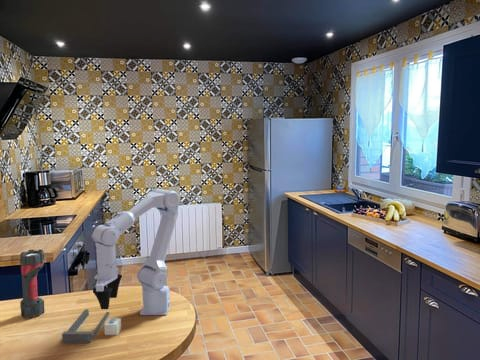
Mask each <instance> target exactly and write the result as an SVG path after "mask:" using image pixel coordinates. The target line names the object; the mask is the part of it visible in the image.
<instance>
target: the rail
mask: <svg viewBox="0 0 480 360" xmlns="http://www.w3.org/2000/svg"><path fill="white" fill-rule="evenodd" d="M89 315H90V312H89V309H88V308H87V309H84V310H83V311H82V312H81V313H80V314H79V316H78V317H77V318H76V319H75V321H74V322H73V324H72V325H71V326H70V327H69V328H68V329H67V330H66V331H63V332H62V333H61V340H62V344H91V342H92V340H94V338H95V337H96V335H97V333H98V332H99V330H100V328H101V327H102V326H103V324H105V323H106V321H107V320H108V317H109V315H110V311H106V312H105V314H104V315H103V317H102V318H101V319H100V321H99V323H97V325H96V327H95V328H94V329H93V330H92V331H86V330H85V331H82V330H81V331H77V330H78V329H79V328H80V327H81V325H82V324H83V323H84V322H85V320H86V319H88V316H89Z"/></svg>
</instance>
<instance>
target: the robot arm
mask: <svg viewBox="0 0 480 360" xmlns="http://www.w3.org/2000/svg"><path fill="white" fill-rule="evenodd" d="M180 203H181V198H180V196H179V193H178V192H176V191H175V190H167V189H162V188H159V187H158V188H157V187H155V188H153V189H152V190H151V191H149V192H148V193H147V195H146V196H145V197H143V198H142V199H141V200H140V201H139V202H138V203H137V204H135V205H134V206H133V207H132V208H131V209H129V210H128V211H127V210H126V211H125V210H122V211H118V212H117V213H116V214H117V215H115V216H114V217H112V218H111V219H110V220H107V221H106V222H105V224H100V225H98V226H96V227H95V228H94V230H93V232H92V234H91V239H92V240H93V242H95V247H96V250H95V251H96V264H97V266H96V267H97V274H96V275H95V276H94V279H95V280H97V281H96V285H95V287H94V288H93V289H92V293H93V294H94V296H95V297H96V299H97V301H98V304H99V306H100V309H101V310H109V307H110V300H111V299H116V298H117V297H118V292H119V286H120V282H121V280H122V278H123V275H122V274H119V267H117V266H118V265H117V251H116V244H117V242H118V241H119V238H120V236H121V235H122V234H123V233H125V232H126V231H127V230H129V229H130V228H131V227H133V226H134V225H135V220H136V219H138V218H140V217H141V216H143V215H144V214H146V213H147V212H148V211H150V210H151V209H153V208H156V210H158V212H159V213H160V215H161V218H160V222H159V225H158V228H157V231H156V234H155V238H154V241H153V245H152V248H151V251H150V254H149V257H148V259H147V258H146V260H144V261H143V262H142V265H141V267H140V269H139V270H138V272H137V275H136V276H137V281H138V282H140V285H141V289H142V291H141V292H142V309H141V310H140V312H139V315H140V316H166V315H167V314H168V312H169V309H170V308H171V293H170V292H171V291H170V286H168V285H166V283H167V279H168V277H167V276H168V275H167V273H168V267H167V265H166V262H165V260H166V257H167V254H168V250H169V247H170V243H171V240H172V237H173V233H174V229H175V227H176V223H177V219H178V215H179V206H180Z"/></svg>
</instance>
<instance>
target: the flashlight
mask: <svg viewBox="0 0 480 360" xmlns="http://www.w3.org/2000/svg"><path fill="white" fill-rule="evenodd" d="M19 257H20V259H19V260H20V273H21V287H22V299H21V300H20V303H19V304H20V317H21V318H27V319H31V318H32V317H40V316H41V314H45V300H44V299H43V298H41V297H39V296H38V279H37V276H38V274H39V272H40V270H42V269H43V267H44V264H45V260H46V258H45V252H44V250H43V249H38V250H37V249H36V250H35V249H29V250H28V251H21V252H20V255H19Z"/></svg>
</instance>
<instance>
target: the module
mask: <svg viewBox="0 0 480 360" xmlns="http://www.w3.org/2000/svg"><path fill="white" fill-rule="evenodd" d="M103 324H104V325H103V326H104V327H103V328H104V335H105V336H117V335H118V334H119V333H120V331H121V329H122V319H121V317H119V318H118V317H117V318H116V317H115V318H113V317H111V318H110V317H109V318H108V317H107V319H106V320H105V322H104V323H103Z"/></svg>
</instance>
